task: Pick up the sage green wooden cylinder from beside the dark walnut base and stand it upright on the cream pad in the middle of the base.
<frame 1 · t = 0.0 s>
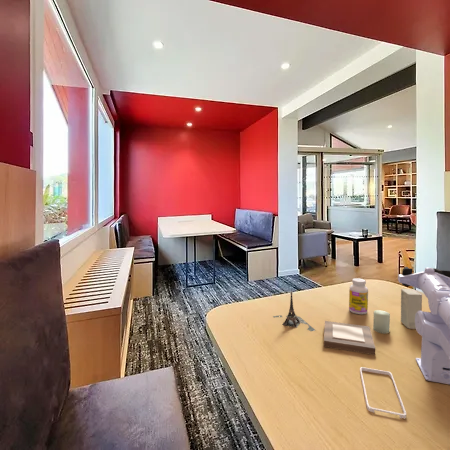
hand: (419, 270, 87), 22 cm above the table, tool horizontal, fingers open, 7 cm apart
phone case: (380, 394, 65), on the table
eiffel tower figurine: (293, 325, 101), on the table
skincare box: (410, 325, 97), on the table
sage cylinder: (381, 330, 94), on the table
supplement bottle: (358, 311, 109), on the table
walnut base: (347, 339, 89), on the table
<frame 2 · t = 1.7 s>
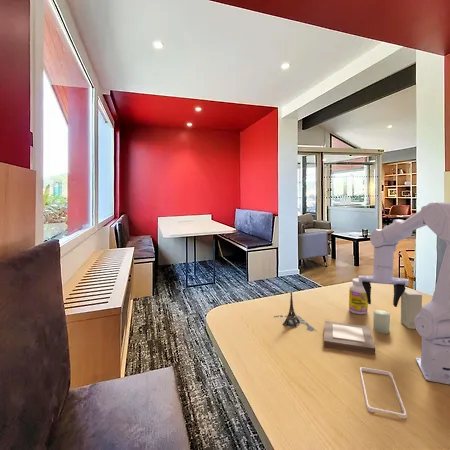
hand: (381, 304, 93), 9 cm above the table, tool pointing down, fingers open, 7 cm apart
nothing on the table moved.
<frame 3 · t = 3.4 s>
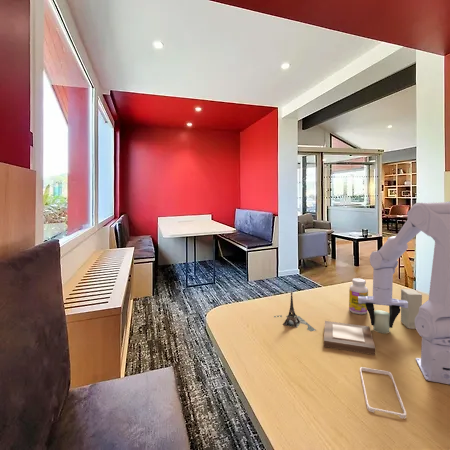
hand: (381, 325, 94), 2 cm above the table, tool pointing down, fingers closed on sage cylinder, 5 cm apart
sage cylinder: (381, 329, 94), on the table, touching gripper
everything else where it was.
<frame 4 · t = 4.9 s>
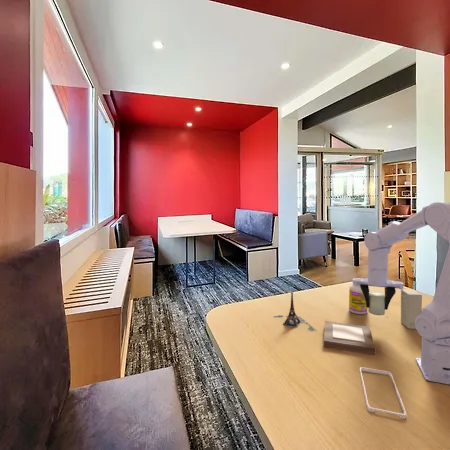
hand: (376, 307, 92), 8 cm above the table, tool pointing down, fingers closed on sage cylinder, 5 cm apart
sage cylinder: (376, 312, 92), point 7 cm above the table, touching gripper
everything else where it was.
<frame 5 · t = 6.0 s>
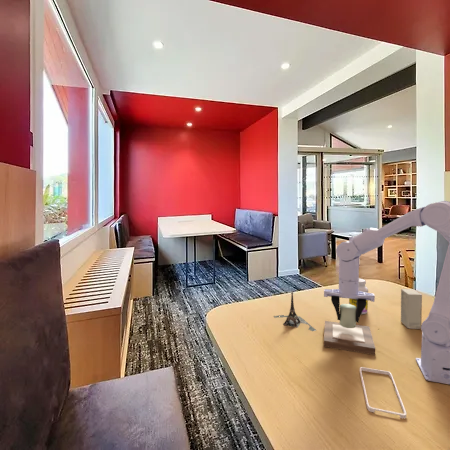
hand: (347, 320, 88), 6 cm above the table, tool pointing down, fingers closed on sage cylinder, 5 cm apart
sage cylinder: (347, 324, 88), point 5 cm above the table, touching gripper
everything else where it was.
when the fingers open (5 cm above the table, at t = 6.6 s): sage cylinder drops 1 cm, resting on walnut base.
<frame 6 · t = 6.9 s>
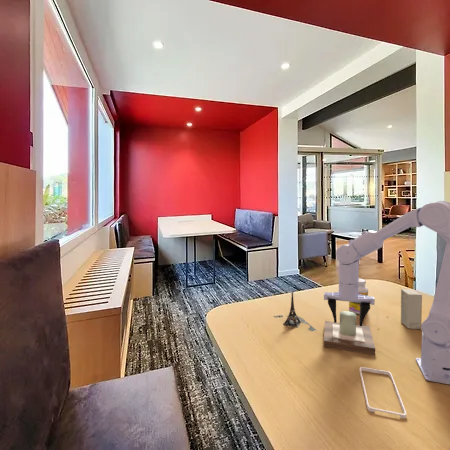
hand: (347, 323, 88), 5 cm above the table, tool pointing down, fingers open, 7 cm apart
sage cylinder: (347, 332, 89), point 2 cm above the table, touching walnut base
everything else where it was.
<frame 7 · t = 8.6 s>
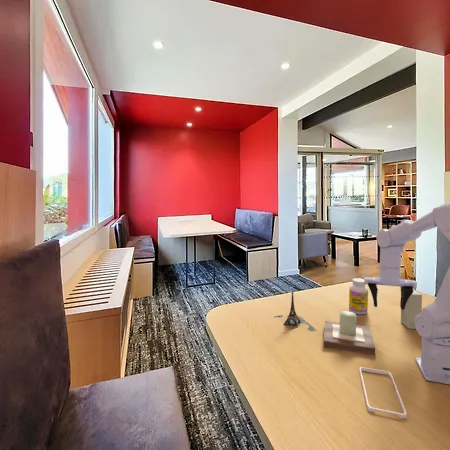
hand: (388, 307, 90), 9 cm above the table, tool pointing down, fingers open, 7 cm apart
nothing on the table moved.
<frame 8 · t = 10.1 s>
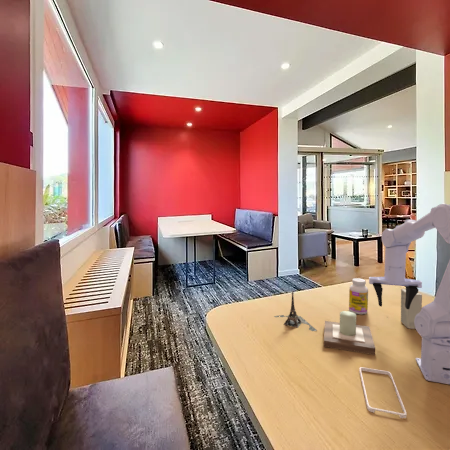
hand: (393, 306, 90), 9 cm above the table, tool pointing down, fingers open, 7 cm apart
nothing on the table moved.
at the end: sage cylinder 0.2 cm off-centre on the walnut base, point 2.3 cm above the walnut base's base; sage cylinder tilted 0°; the gripper is holding nothing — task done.
